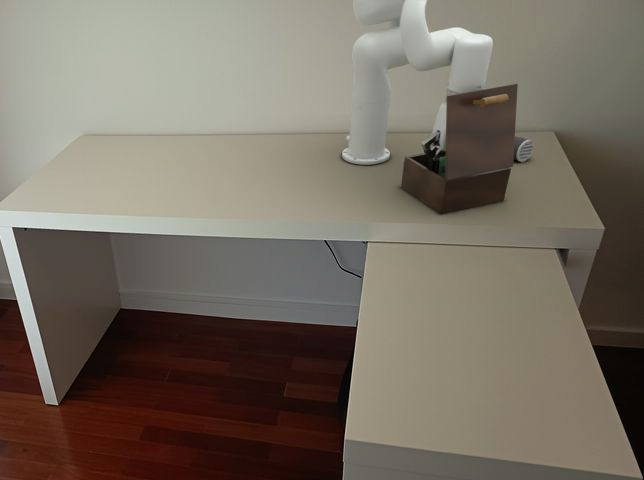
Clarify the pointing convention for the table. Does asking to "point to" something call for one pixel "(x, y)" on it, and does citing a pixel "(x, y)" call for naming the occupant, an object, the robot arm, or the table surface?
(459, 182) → the chest
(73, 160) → the table surface
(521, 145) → the flashlight
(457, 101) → the lid
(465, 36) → the robot arm
